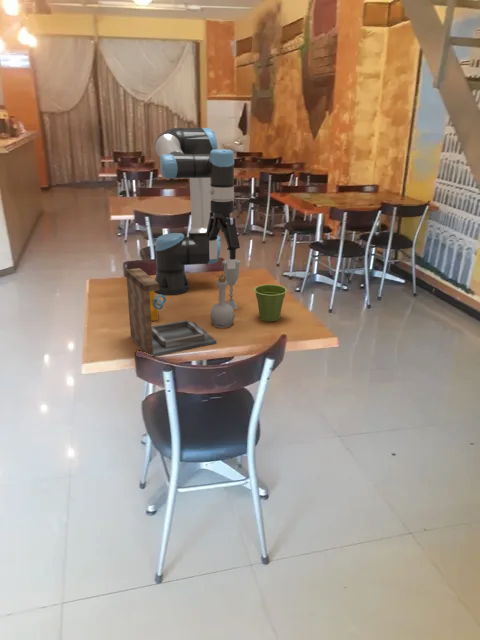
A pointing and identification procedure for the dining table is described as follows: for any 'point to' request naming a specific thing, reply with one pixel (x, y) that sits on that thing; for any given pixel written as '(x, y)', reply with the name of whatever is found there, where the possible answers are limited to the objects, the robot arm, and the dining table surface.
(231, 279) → the chalice
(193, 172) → the robot arm
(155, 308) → the orange ring-handled vase
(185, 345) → the ledge nook
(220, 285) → the potion bottle
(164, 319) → the dining table surface
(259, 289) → the plant pot
